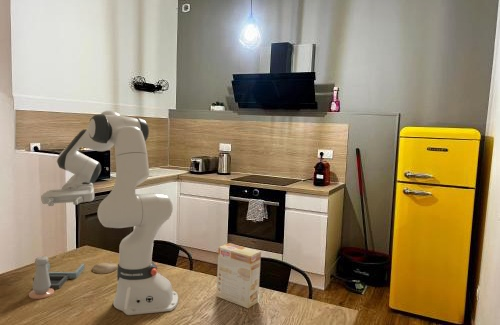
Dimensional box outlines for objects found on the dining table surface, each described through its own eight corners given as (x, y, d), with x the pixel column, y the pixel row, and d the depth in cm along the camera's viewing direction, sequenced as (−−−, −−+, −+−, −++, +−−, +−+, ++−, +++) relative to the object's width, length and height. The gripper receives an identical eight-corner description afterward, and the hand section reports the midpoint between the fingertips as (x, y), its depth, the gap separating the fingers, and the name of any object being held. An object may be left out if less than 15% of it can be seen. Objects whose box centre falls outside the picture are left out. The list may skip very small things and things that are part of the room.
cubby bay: (47, 268, 157) (47, 263, 156) (84, 268, 158) (84, 263, 158) (36, 278, 147) (36, 272, 147) (76, 278, 149) (76, 273, 148)
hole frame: (44, 278, 147) (44, 275, 146) (68, 278, 148) (68, 275, 148) (33, 288, 138) (33, 284, 138) (59, 288, 139) (59, 285, 139)
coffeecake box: (258, 302, 137) (261, 251, 135) (247, 309, 131) (250, 256, 129) (226, 290, 146) (229, 242, 144) (215, 296, 140) (217, 246, 138)
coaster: (57, 289, 139) (57, 287, 139) (48, 299, 131) (48, 297, 131) (35, 289, 138) (35, 287, 138) (24, 299, 130) (24, 297, 130)
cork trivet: (97, 263, 164) (97, 261, 164) (120, 265, 165) (120, 262, 164) (88, 273, 154) (88, 271, 154) (112, 275, 155) (112, 272, 155)
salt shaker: (43, 296, 131) (43, 261, 130) (28, 294, 132) (28, 259, 130) (54, 289, 137) (54, 255, 136) (39, 287, 137) (39, 254, 136)
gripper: (46, 185, 159) (33, 198, 146) (96, 182, 162) (87, 194, 149) (49, 198, 161) (36, 212, 148) (98, 196, 164) (90, 209, 151)
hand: (62, 203), depth 148 cm, fingers open, 8 cm apart
